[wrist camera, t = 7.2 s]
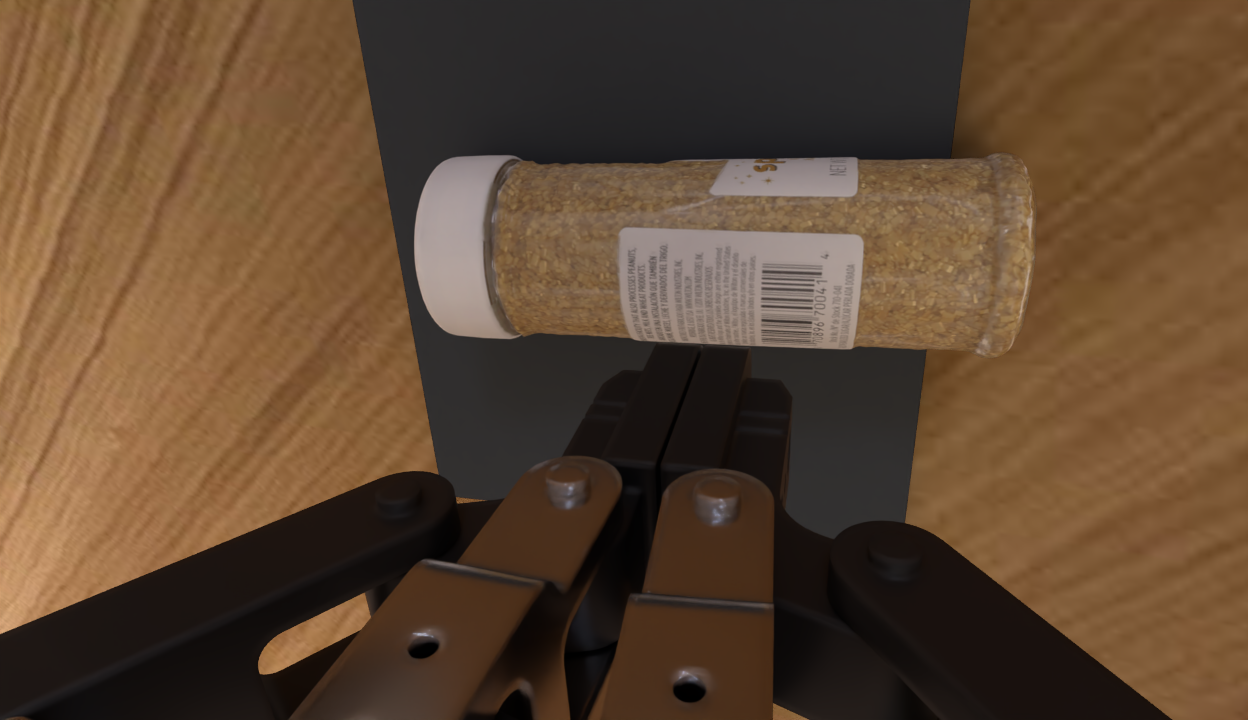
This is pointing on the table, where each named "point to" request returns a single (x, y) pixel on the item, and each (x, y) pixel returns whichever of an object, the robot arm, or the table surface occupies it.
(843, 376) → the mat
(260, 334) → the table surface
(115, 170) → the table surface
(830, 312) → the sprinkles bottle
